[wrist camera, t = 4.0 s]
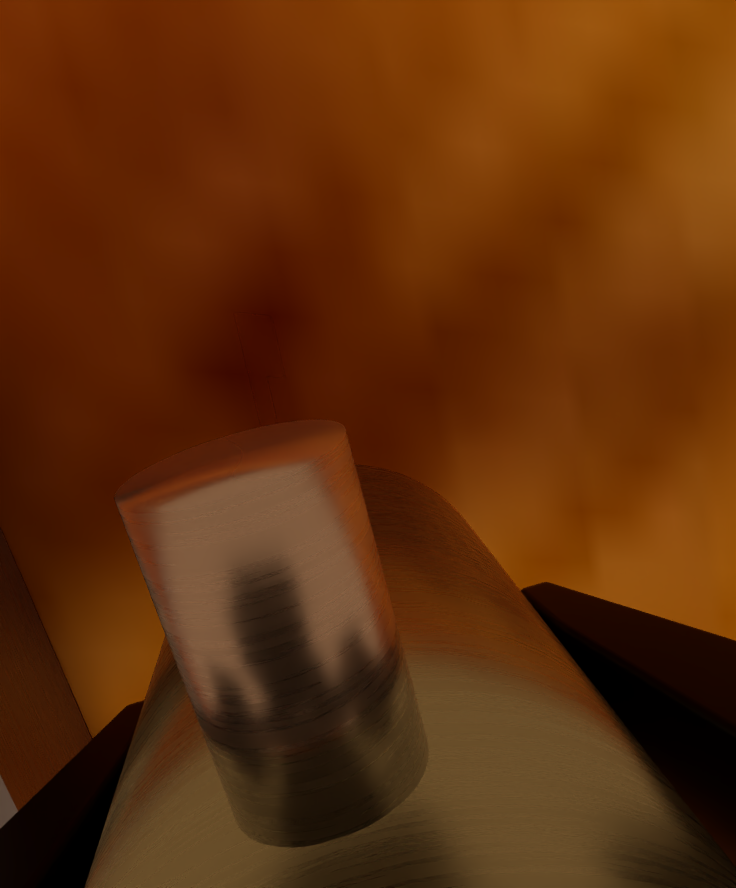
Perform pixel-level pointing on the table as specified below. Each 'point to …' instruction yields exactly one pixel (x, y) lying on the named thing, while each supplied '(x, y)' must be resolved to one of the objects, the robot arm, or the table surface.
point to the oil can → (364, 697)
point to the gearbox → (30, 698)
